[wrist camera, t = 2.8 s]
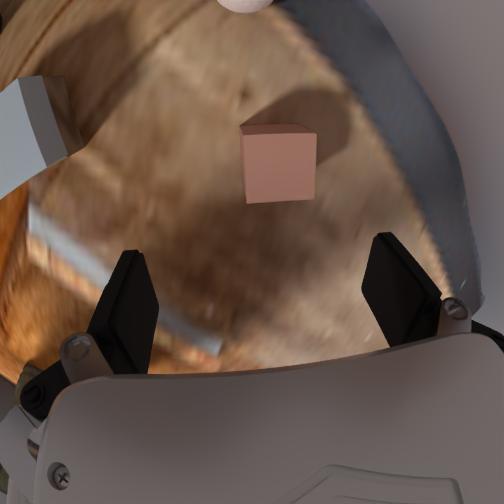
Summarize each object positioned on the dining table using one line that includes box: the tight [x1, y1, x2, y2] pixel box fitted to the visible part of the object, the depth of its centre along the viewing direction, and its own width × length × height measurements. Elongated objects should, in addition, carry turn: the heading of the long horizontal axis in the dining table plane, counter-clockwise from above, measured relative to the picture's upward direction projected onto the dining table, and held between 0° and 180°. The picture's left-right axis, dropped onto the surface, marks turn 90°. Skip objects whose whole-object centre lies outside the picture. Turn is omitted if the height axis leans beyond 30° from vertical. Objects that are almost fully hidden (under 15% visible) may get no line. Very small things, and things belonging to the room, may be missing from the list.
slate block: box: [0, 75, 68, 199], centre depth 17 cm, size 9×9×4 cm
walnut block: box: [31, 76, 85, 178], centre depth 20 cm, size 9×9×4 cm
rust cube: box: [239, 124, 317, 204], centre depth 25 cm, size 6×6×6 cm
